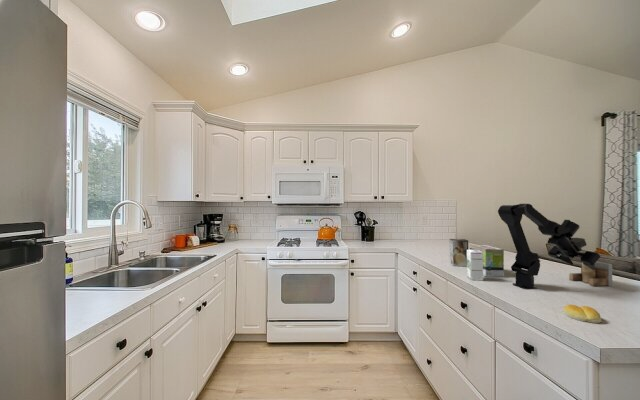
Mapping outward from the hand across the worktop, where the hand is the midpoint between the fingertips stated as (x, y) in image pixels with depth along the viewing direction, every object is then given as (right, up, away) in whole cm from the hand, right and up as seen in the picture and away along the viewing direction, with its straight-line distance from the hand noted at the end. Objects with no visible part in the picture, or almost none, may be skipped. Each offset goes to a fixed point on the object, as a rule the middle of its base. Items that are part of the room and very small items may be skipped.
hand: (582, 266), depth 123 cm
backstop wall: (+8, -8, +1) cm, 12 cm away
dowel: (+3, -8, 0) cm, 9 cm away
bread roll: (-38, -8, -37) cm, 54 cm away
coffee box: (-41, -8, +35) cm, 54 cm away
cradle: (+2, -8, 0) cm, 8 cm away
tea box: (-36, -8, +18) cm, 41 cm away
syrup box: (-48, -8, +7) cm, 49 cm away
